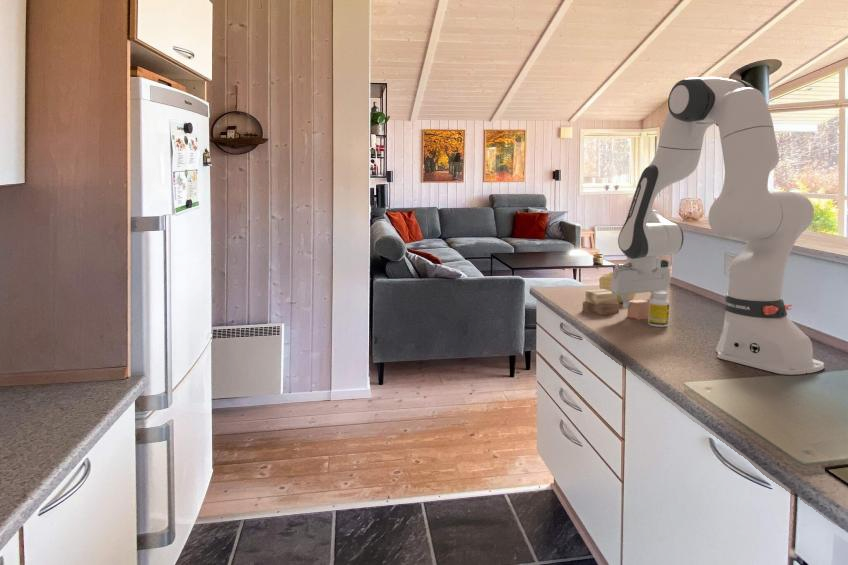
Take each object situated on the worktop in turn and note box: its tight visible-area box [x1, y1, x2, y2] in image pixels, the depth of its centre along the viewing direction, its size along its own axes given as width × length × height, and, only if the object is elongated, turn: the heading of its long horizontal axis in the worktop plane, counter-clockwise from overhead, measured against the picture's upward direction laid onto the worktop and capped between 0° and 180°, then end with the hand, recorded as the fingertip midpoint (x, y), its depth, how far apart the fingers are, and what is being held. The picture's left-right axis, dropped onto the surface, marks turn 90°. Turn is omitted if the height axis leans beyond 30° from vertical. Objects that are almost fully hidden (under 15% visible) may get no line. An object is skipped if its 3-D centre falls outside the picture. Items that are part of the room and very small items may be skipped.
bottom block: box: [581, 301, 620, 316], centre depth 185 cm, size 8×8×4 cm
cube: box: [626, 299, 649, 320], centre depth 177 cm, size 5×5×5 cm
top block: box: [584, 288, 617, 305], centre depth 184 cm, size 7×7×4 cm
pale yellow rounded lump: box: [598, 271, 637, 304], centre depth 200 cm, size 11×12×11 cm
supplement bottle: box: [647, 290, 670, 328], centre depth 166 cm, size 5×5×10 cm
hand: (638, 306), depth 177 cm, fingers open, 8 cm apart
